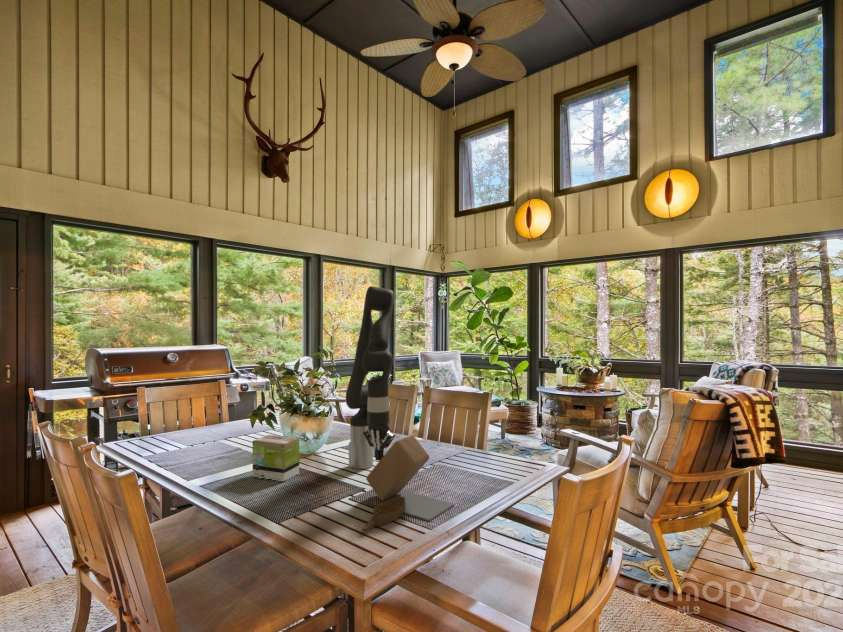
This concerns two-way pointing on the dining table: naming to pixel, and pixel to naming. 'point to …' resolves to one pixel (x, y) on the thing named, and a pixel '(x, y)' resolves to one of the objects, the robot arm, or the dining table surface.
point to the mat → (423, 506)
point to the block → (397, 467)
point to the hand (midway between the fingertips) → (379, 459)
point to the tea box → (276, 457)
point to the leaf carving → (386, 512)
